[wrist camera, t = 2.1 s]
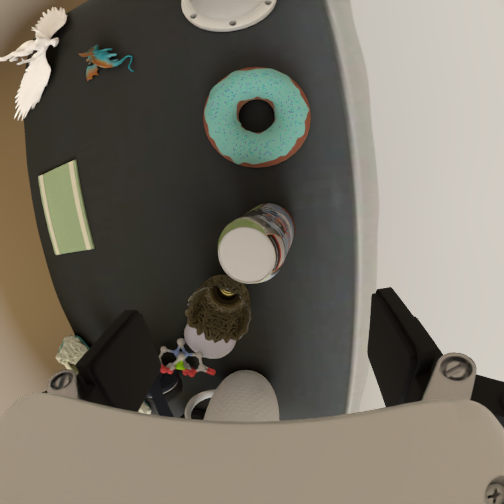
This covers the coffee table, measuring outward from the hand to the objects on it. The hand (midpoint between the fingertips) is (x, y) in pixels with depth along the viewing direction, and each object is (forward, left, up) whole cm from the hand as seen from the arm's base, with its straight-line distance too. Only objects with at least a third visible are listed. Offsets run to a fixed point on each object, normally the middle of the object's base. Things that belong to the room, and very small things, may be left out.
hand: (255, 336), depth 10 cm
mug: (+28, -8, -24) cm, 38 cm away
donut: (-12, 0, -24) cm, 27 cm away
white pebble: (+17, -11, -22) cm, 30 cm away
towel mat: (-6, -32, -24) cm, 40 cm away
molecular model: (+19, -11, -18) cm, 29 cm away
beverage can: (+1, -1, -24) cm, 24 cm away
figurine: (-37, -41, -16) cm, 57 cm away
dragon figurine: (-26, -19, -24) cm, 40 cm away
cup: (+9, -7, -24) cm, 27 cm away
